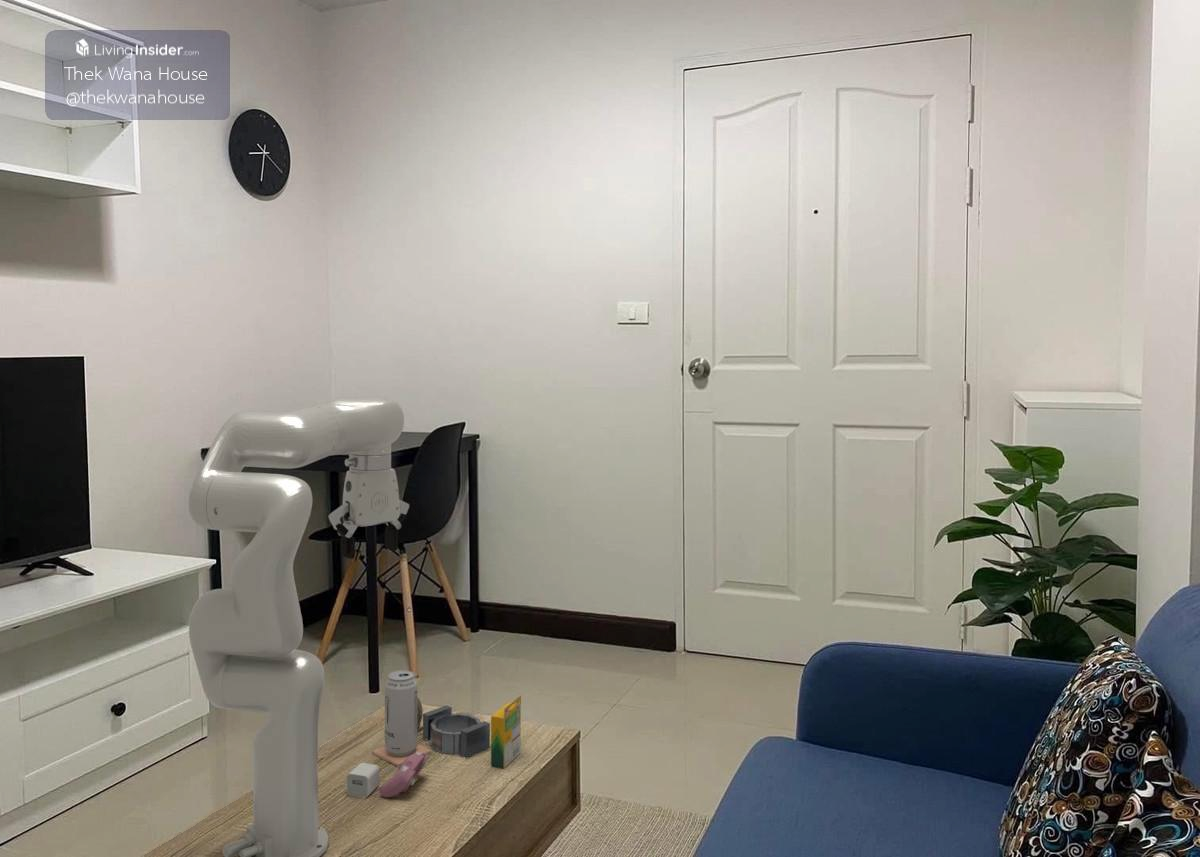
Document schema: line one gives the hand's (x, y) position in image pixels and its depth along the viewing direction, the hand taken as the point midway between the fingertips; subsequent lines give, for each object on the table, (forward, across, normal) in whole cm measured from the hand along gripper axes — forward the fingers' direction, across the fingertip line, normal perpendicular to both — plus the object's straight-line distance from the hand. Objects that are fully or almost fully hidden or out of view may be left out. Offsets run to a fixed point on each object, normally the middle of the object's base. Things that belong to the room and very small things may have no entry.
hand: (370, 553), depth 179 cm
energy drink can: (+38, +3, -6) cm, 39 cm away
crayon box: (+38, +15, -22) cm, 47 cm away
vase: (+39, +10, +2) cm, 40 cm away
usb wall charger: (+39, -10, -12) cm, 42 cm away
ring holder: (+38, +13, -10) cm, 42 cm away
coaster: (+38, +3, -6) cm, 39 cm away
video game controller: (+39, -5, -17) cm, 42 cm away
